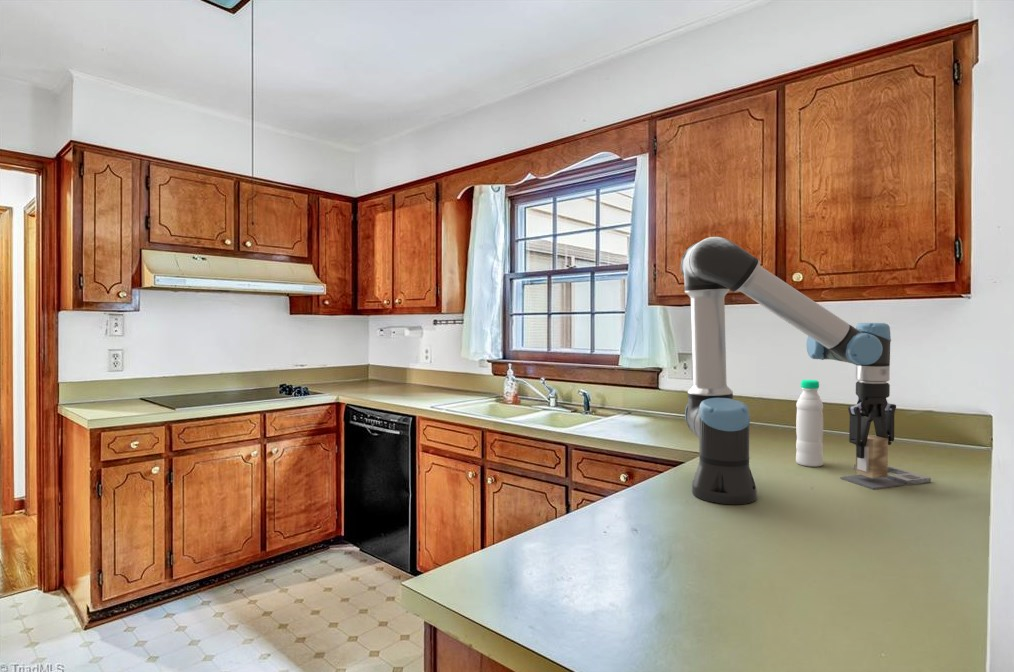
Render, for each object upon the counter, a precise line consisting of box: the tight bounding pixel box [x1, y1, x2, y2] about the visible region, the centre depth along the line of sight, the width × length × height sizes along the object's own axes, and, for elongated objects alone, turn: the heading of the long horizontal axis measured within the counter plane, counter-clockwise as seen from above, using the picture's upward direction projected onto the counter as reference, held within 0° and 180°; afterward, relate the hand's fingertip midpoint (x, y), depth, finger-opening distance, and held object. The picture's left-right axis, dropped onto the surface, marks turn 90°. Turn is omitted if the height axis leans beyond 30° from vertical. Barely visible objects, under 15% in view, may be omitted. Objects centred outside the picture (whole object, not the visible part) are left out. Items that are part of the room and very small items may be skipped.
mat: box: [840, 474, 905, 490], centre depth 150 cm, size 10×10×1 cm
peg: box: [855, 434, 889, 478], centre depth 150 cm, size 5×5×10 cm
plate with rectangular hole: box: [853, 464, 932, 486], centre depth 156 cm, size 8×16×1 cm, turn 15°
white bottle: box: [795, 379, 824, 468], centre depth 167 cm, size 7×7×25 cm
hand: (871, 468), depth 150 cm, fingers closed on peg, 5 cm apart
